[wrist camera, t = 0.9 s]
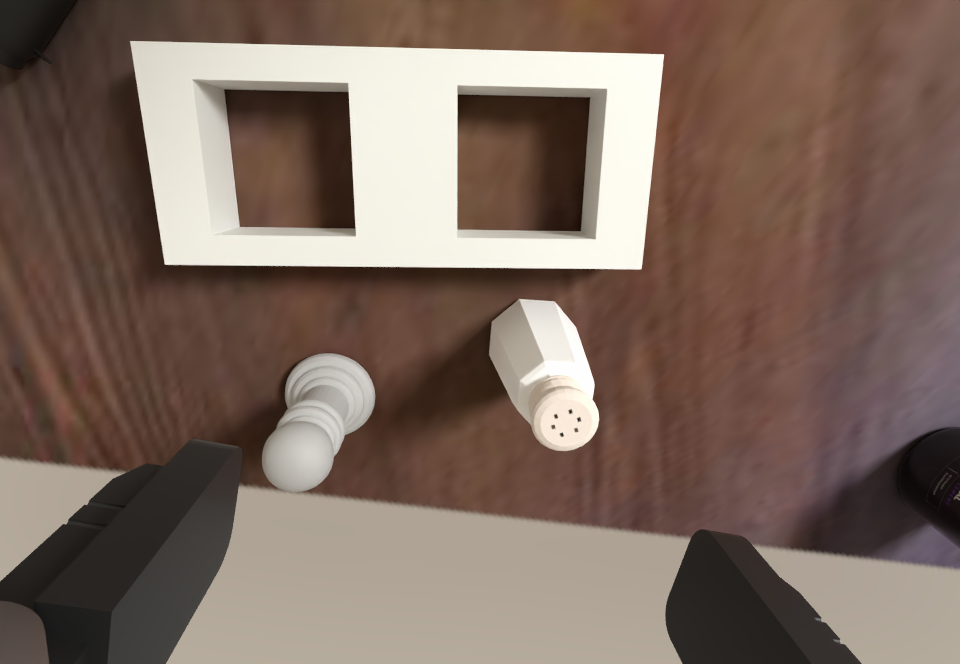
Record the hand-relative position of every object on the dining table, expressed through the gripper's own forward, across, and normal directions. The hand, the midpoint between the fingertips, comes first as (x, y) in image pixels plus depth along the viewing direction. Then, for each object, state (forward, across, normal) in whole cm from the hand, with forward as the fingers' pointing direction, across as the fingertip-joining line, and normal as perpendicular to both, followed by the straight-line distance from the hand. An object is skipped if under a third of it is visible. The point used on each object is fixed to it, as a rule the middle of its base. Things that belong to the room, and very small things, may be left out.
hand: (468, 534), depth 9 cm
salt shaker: (+23, -6, +2) cm, 24 cm away
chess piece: (+24, +5, +8) cm, 26 cm away
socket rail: (+23, +3, -6) cm, 24 cm away
